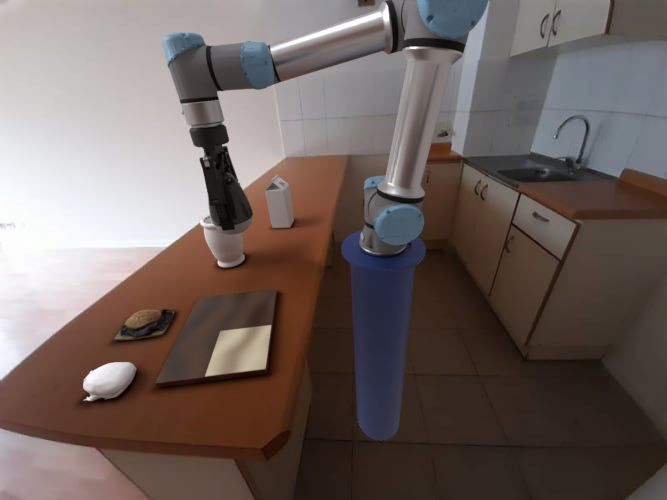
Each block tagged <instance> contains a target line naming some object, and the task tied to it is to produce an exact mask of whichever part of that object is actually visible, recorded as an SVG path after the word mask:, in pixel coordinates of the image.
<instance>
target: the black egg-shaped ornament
mask: <svg viewBox="0 0 667 500" xmlns="http://www.w3.org/2000/svg"><path fill="white" fill-rule="evenodd" d="M239 183H240V182H239V180H238V181H237V180H236V179H235V178H234V177H233V176H232V175H231V174H230V173H228V172H225V171H224V174H223V184H224V192H225V201H226V202H228V206H229V209H230V213H231V216H232V220H233V223H234V227H235V229H234V230H225V231H223V230H222V227H221V224H220V220H219V217H218V214H217V211H216V208H215V205H213V206H210V204H209V198H208V197H207V205H208V213H209V214H210V219H211V222H212V224H214V225H215V227H216V228H217V229H218V230H219V231H220V232H222V233H224V234H229V235H234V234H239V233H242V234H243V233H244V232H245V231H247V230H248V229H249V228H250V227H251V225H252V222H253V216H254V211H253V208H252V205H251V203H250V200H249V198H248V196H247V194H246V192H245V191H244V189H243V187H242V186H241V183H240V184H239Z"/></svg>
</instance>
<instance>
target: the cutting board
mask: <svg viewBox="0 0 667 500" xmlns="http://www.w3.org/2000/svg"><path fill="white" fill-rule="evenodd" d="M277 299H278V289H277V288H272V289H264V290H254V291H245V292H237V293H236V292H235V293H228V294H218V295H209V296H200V297H197V299H196V301H195V302H194V304H193V306H192V309H191V311H190V313H189V315H188V317H187V319H186V321H185V323H184V324H183V327H182V328H181V330H180V333H179V335H178V337H177V338H176V341H175V343H174V344H173V347H172V349H171V350H170V353H169V354H168V356H167V358H166V360H165V363H164V364H163V366H162V368H161V369H160V370H161V371H160V372H159V374H158V376H157V378H156V380H155V382H154V385H155V386H156V388H157V389H160V388H168V387H175V386H176V387H177V386H184V385H192V384H201V383H208V382H215V381H224V380H232V379H241V378H248V377H254V376H262V375H263V376H264V375H268V371H269V364H270V363H269V362H270V356H271V347H272V338H273V331H274V322H275V315H276V308H277V307H276V306H277V301H278V300H277Z"/></svg>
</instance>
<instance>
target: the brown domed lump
mask: <svg viewBox="0 0 667 500" xmlns="http://www.w3.org/2000/svg"><path fill="white" fill-rule="evenodd" d="M175 314H176V312H175V311H172V310H171V309H166V308H162V309H161V310H158V309H149V308H148V309H141V310H139V311H137V312H134V313H132V314H131V315H130V316H129V317H128V318H127V319H126V320H125V322H124V324H123V325H122V326H120V329H119V331H118V333H116V336H115V337H114V341H115V342H116V341H118V342H119V341H134V340H140V339H141V340H142V339H146V338H147V339H149V338H152V337H159V336H162V335H163V336H164V334H165V333H166V332H167V329H168V328H169V326H170V323H171V322H172V321H173V318H174V315H175Z"/></svg>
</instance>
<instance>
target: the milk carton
mask: <svg viewBox="0 0 667 500" xmlns="http://www.w3.org/2000/svg"><path fill="white" fill-rule="evenodd" d="M264 193H265V198H266V204H267V210H268V214H269V219H270V224H271V228H272V229H290V228H291V227H292V225H293V223H294V222H295V217H294V210H293V203H292V197H291V196H292V195H291V190H290V185H289V183H288V182H286V181H285V180H284V179H282V178H281V177H280V176H279V173H277V174H276V175H275V176H274V177H273V178H271V183H270V184H269V185H268V186H267V188H266V189H265V190H264Z"/></svg>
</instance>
